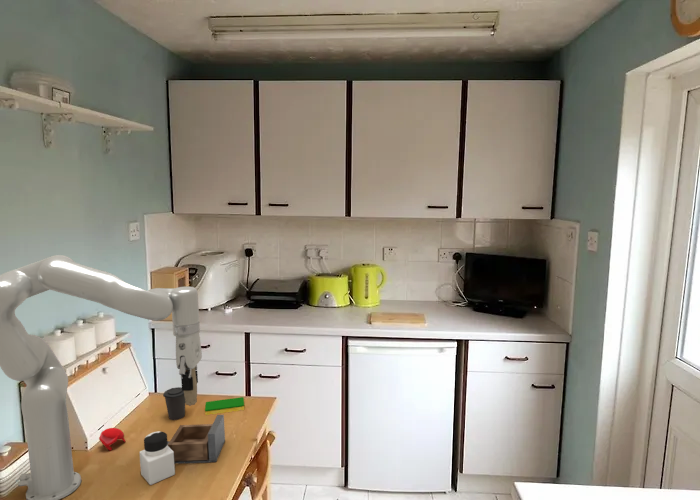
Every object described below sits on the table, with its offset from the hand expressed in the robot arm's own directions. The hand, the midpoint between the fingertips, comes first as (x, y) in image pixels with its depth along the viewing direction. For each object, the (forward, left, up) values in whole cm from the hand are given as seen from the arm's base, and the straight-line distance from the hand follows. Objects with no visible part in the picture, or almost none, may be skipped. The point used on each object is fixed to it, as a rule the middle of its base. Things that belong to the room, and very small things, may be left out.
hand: (190, 386), depth 138 cm
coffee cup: (-13, +23, -22) cm, 35 cm away
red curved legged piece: (-27, +5, -22) cm, 35 cm away
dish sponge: (+3, +28, -22) cm, 36 cm away
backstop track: (-2, 0, -21) cm, 22 cm away
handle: (0, 0, -6) cm, 6 cm away
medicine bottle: (-7, -11, -22) cm, 25 cm away
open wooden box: (0, 0, -21) cm, 21 cm away
